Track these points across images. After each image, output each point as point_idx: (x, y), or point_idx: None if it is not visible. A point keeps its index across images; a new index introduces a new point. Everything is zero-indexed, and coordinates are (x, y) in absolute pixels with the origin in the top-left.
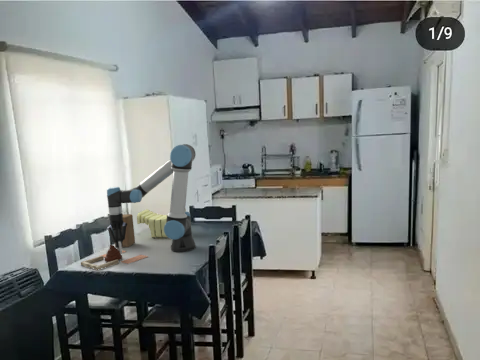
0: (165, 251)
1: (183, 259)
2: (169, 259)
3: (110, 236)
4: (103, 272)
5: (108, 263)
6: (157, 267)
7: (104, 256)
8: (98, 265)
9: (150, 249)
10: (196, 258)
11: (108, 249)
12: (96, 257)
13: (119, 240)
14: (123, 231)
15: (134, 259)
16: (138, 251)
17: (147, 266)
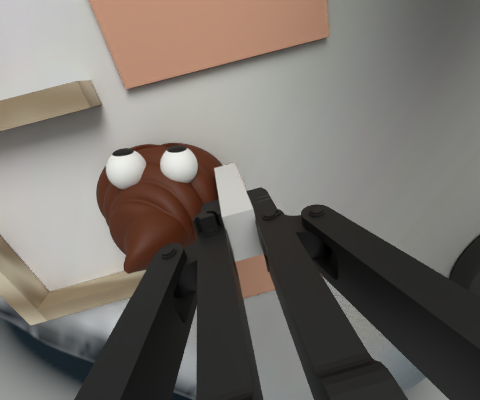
0: (443, 242)
1: (385, 362)
2: (361, 341)
3: (116, 334)
4: (75, 343)
5: (108, 302)
6: (280, 384)
7: (116, 37)
8: (40, 309)
9: (449, 140)
10: (411, 371)
11: (118, 217)
12: (17, 108)
13: (260, 241)
14: (396, 334)
15: (266, 274)
16: (382, 118)
17: (261, 364)
